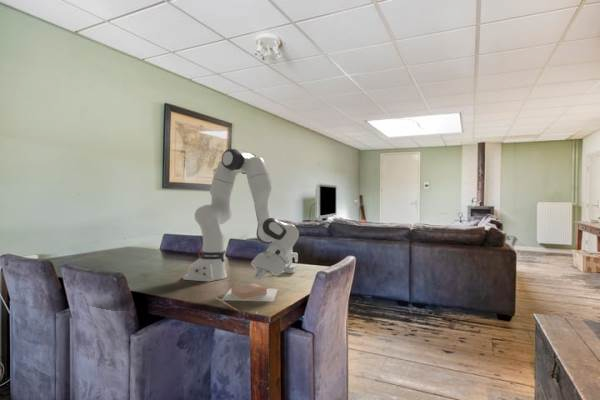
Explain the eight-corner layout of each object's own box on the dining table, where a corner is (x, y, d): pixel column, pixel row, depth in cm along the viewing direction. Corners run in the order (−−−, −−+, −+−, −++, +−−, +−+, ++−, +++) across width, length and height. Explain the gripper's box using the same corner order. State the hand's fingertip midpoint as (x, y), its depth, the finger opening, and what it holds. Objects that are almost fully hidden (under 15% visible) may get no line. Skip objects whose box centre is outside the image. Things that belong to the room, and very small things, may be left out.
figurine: (295, 274, 185) (295, 247, 185) (279, 272, 189) (280, 246, 188) (299, 271, 192) (299, 246, 192) (284, 270, 195) (285, 245, 195)
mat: (220, 301, 137) (220, 300, 137) (231, 289, 155) (231, 287, 155) (273, 302, 137) (273, 301, 137) (277, 290, 155) (278, 288, 155)
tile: (254, 283, 153) (231, 287, 145) (266, 288, 145) (242, 293, 137) (254, 289, 153) (231, 294, 145) (266, 295, 145) (242, 300, 137)
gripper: (259, 246, 160) (241, 269, 154) (284, 252, 144) (264, 278, 138) (267, 255, 163) (249, 277, 157) (292, 261, 147) (273, 287, 141)
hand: (256, 278), depth 147 cm, fingers closed
